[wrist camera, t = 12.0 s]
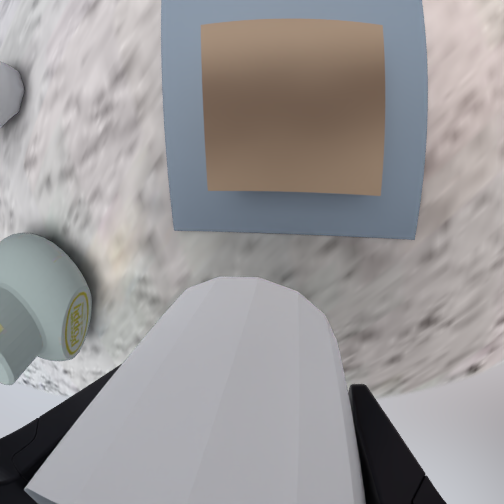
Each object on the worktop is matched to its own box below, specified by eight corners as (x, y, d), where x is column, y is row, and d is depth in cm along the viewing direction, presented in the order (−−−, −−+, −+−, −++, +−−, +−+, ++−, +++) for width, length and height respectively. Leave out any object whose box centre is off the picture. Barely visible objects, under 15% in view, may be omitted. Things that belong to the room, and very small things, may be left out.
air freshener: (26, 206, 20) (-67, 262, 11) (103, 247, 21) (9, 331, 12) (29, 305, 25) (-33, 367, 16) (93, 345, 26) (37, 424, 17)
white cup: (110, 318, 10) (-5, 477, 4) (270, 203, 8) (146, 539, 1) (234, 430, 12) (194, 579, 6) (391, 373, 9) (415, 577, 3)
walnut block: (363, 175, 15) (380, 196, 12) (228, 171, 16) (207, 190, 13) (363, 44, 12) (382, 25, 9) (224, 43, 13) (200, 25, 10)
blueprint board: (417, 0, 11) (422, -3, 10) (411, 235, 17) (415, 240, 16) (165, 0, 13) (160, -4, 12) (177, 226, 19) (173, 231, 18)
